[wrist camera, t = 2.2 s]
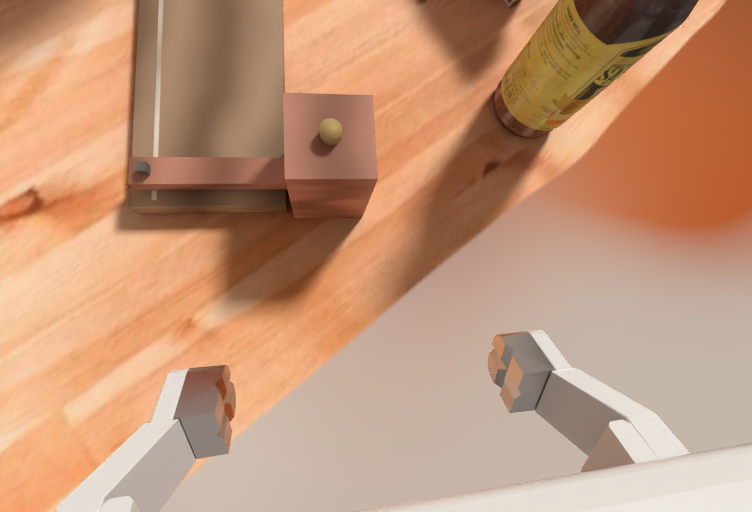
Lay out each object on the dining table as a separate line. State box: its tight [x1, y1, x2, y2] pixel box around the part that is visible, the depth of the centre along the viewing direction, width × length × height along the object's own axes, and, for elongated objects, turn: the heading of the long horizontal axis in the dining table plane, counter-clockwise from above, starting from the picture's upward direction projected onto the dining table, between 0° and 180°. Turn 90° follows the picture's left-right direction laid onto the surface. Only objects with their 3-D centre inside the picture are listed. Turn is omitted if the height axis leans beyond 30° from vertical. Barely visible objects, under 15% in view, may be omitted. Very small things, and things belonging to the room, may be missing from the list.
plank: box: [129, 0, 287, 214], centre depth 28 cm, size 10×22×2 cm, turn 3°
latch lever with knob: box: [128, 93, 378, 218], centre depth 24 cm, size 15×5×9 cm, turn 93°
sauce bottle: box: [494, 0, 698, 138], centre depth 23 cm, size 6×6×20 cm
